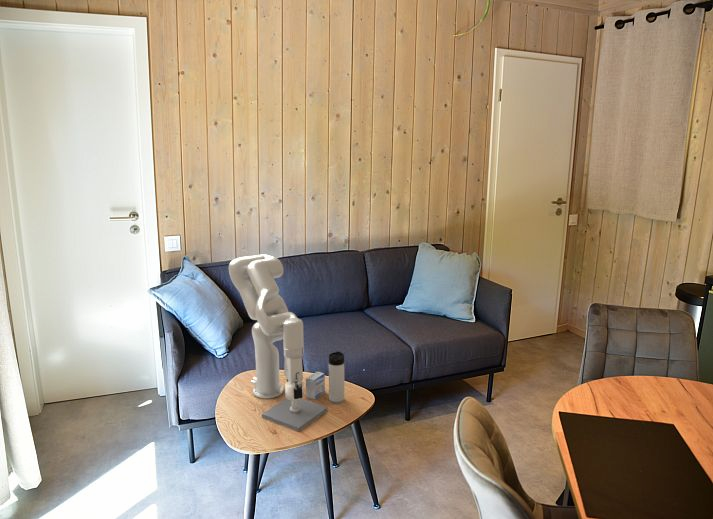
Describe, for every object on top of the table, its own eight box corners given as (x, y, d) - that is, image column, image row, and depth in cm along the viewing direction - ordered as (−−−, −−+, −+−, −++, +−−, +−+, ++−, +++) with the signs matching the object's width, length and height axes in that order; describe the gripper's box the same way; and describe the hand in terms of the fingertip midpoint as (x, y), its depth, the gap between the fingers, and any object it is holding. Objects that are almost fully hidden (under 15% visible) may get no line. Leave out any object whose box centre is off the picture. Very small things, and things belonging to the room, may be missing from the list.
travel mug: (346, 397, 224) (346, 351, 219) (342, 405, 218) (342, 358, 213) (331, 395, 225) (331, 350, 221) (327, 403, 219) (326, 356, 214)
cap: (282, 394, 210) (282, 381, 208) (298, 390, 213) (298, 377, 212) (290, 402, 204) (290, 388, 203) (307, 397, 208) (306, 384, 206)
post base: (261, 417, 208) (261, 400, 206) (292, 398, 223) (291, 382, 221) (298, 431, 198) (298, 413, 197) (327, 410, 213) (327, 393, 211)
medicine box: (314, 400, 222) (314, 380, 219) (305, 397, 224) (305, 378, 222) (325, 392, 228) (325, 373, 226) (316, 389, 230) (316, 370, 228)
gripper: (278, 344, 211) (279, 384, 215) (290, 361, 195) (291, 404, 199) (296, 341, 214) (297, 381, 218) (310, 358, 198) (310, 401, 202)
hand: (294, 392), depth 208 cm, fingers open, 9 cm apart
